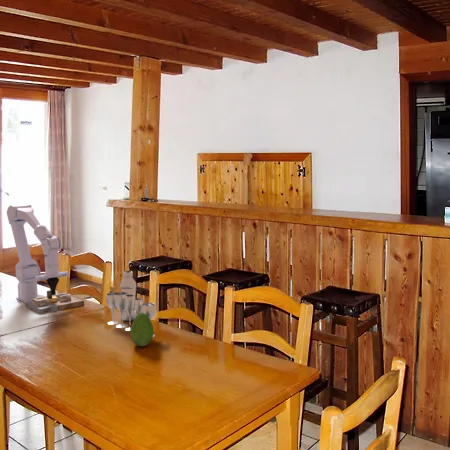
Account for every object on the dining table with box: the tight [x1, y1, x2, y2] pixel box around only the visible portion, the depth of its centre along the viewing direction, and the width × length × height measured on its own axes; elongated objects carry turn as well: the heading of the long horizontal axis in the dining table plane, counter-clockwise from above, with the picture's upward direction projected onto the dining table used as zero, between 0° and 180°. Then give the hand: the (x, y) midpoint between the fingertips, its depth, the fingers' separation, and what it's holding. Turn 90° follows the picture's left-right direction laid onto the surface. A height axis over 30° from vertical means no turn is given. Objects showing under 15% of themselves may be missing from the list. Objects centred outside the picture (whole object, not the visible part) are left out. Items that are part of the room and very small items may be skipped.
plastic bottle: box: [119, 270, 137, 322], centre depth 221 cm, size 6×7×20 cm
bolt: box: [39, 290, 58, 303], centre depth 241 cm, size 8×2×5 cm, turn 133°
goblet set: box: [105, 291, 157, 338], centre depth 210 cm, size 28×6×13 cm, turn 47°
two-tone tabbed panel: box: [24, 292, 85, 315], centre depth 243 cm, size 20×15×4 cm
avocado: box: [130, 313, 154, 347], centre depth 193 cm, size 8×8×12 cm
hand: (53, 294), depth 242 cm, fingers closed, pressing on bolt
